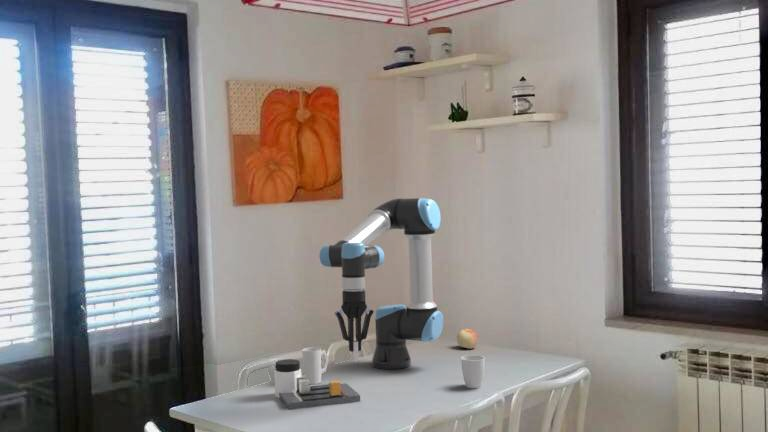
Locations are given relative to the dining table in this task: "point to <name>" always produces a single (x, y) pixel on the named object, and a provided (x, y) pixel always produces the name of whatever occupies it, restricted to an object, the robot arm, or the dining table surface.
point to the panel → (316, 395)
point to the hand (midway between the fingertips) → (355, 360)
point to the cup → (473, 370)
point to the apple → (467, 338)
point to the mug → (313, 364)
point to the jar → (286, 376)
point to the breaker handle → (334, 388)
